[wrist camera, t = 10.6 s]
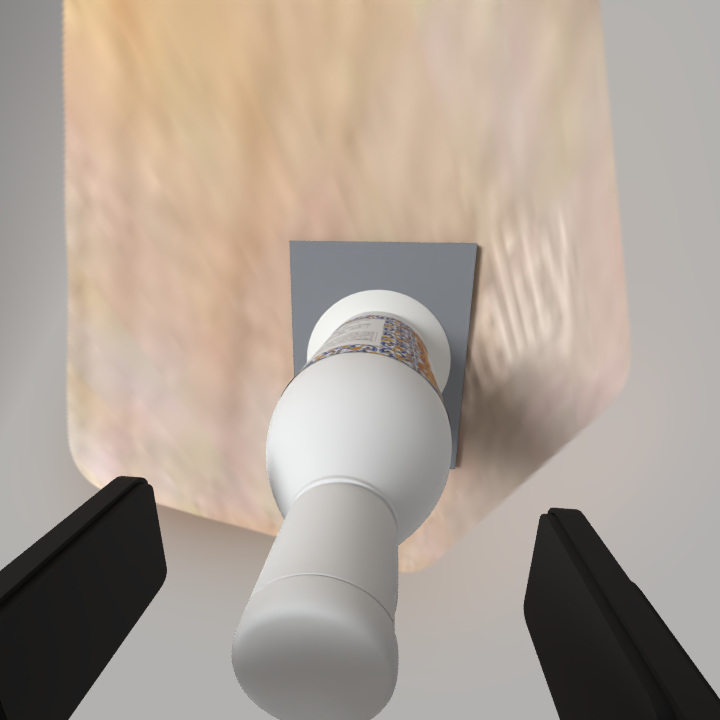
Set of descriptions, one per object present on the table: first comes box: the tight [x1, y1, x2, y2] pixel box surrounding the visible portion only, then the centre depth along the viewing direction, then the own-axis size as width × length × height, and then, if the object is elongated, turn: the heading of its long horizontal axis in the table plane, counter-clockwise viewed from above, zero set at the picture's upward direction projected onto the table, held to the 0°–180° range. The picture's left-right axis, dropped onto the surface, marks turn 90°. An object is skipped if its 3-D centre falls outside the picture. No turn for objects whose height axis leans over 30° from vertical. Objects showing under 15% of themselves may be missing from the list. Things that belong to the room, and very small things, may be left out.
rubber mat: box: [290, 241, 477, 469], centre depth 26 cm, size 16×12×1 cm
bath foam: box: [232, 311, 452, 720], centre depth 16 cm, size 7×7×20 cm
